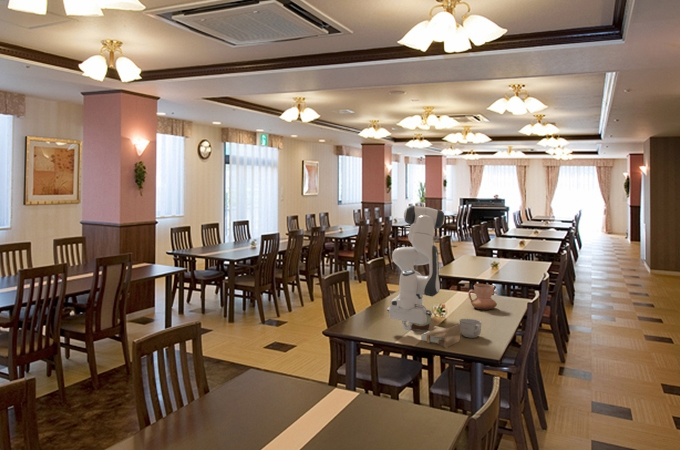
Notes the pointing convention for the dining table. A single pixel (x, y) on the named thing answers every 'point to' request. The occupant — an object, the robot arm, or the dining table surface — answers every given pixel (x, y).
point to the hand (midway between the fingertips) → (407, 329)
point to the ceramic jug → (483, 297)
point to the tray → (431, 338)
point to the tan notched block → (446, 335)
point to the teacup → (470, 327)
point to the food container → (423, 326)
